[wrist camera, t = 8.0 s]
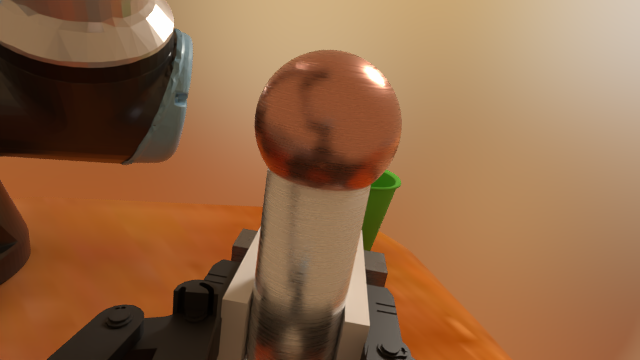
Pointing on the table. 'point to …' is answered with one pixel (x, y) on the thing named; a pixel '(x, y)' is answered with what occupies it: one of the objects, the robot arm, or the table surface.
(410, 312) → the table surface
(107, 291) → the table surface
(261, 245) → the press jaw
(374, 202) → the cup
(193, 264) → the table surface
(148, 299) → the table surface
